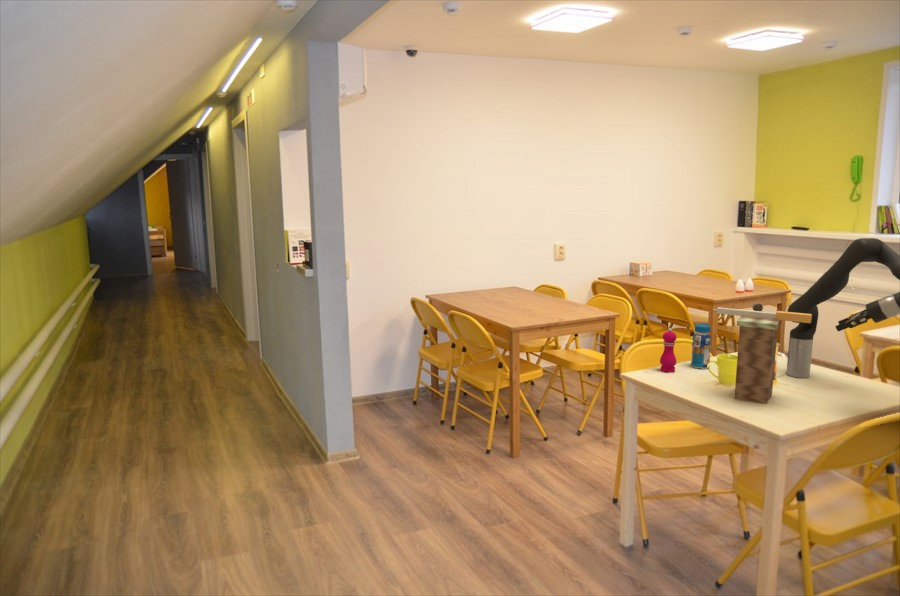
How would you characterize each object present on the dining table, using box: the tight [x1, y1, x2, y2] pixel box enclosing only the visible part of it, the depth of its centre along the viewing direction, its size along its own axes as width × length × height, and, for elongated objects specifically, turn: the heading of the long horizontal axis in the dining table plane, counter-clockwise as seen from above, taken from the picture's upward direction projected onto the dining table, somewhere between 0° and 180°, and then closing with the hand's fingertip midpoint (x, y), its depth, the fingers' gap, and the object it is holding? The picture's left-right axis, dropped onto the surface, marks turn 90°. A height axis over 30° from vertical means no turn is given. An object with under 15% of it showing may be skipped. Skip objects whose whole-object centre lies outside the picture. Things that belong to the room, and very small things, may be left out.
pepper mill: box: [659, 327, 677, 373], centre depth 299 cm, size 7×7×20 cm
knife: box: [712, 306, 812, 323], centre depth 262 cm, size 36×3×3 cm, turn 57°
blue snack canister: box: [690, 323, 712, 370], centre depth 304 cm, size 8×8×20 cm
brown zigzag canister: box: [733, 316, 783, 405], centre depth 262 cm, size 14×15×32 cm
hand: (837, 326), depth 247 cm, fingers open, 8 cm apart
